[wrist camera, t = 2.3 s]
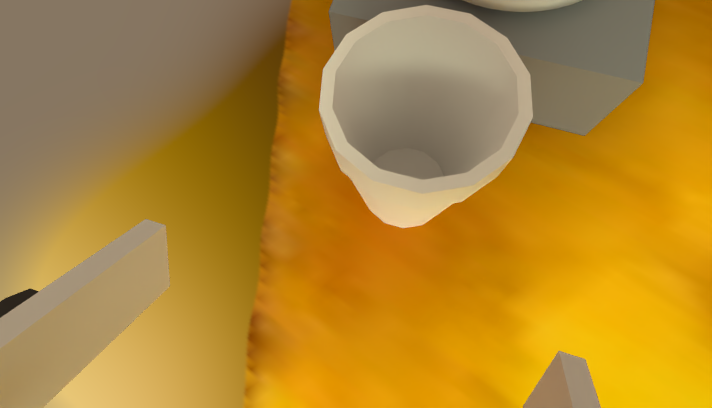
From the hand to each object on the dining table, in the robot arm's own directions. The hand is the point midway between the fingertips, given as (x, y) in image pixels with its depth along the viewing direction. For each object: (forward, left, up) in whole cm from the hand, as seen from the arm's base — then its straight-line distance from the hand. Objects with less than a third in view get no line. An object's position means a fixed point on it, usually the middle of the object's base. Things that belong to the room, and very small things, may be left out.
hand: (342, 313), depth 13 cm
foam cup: (0, -10, -15) cm, 18 cm away
